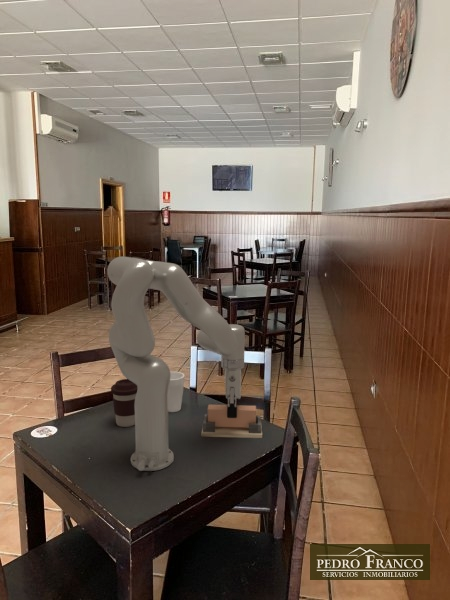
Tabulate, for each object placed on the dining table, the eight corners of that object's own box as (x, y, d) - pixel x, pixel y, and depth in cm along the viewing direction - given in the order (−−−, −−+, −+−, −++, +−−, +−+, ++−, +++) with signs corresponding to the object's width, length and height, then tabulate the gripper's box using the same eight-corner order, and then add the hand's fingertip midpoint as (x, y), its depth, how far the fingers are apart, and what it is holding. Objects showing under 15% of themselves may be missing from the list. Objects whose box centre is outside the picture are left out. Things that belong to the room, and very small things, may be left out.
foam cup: (189, 407, 169) (189, 374, 167) (174, 415, 161) (174, 381, 159) (170, 401, 174) (169, 370, 172) (154, 410, 166) (154, 376, 164)
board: (262, 438, 145) (262, 426, 144) (201, 436, 146) (201, 424, 145) (261, 425, 154) (261, 414, 153) (203, 424, 155) (203, 412, 154)
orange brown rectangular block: (255, 427, 147) (256, 410, 146) (207, 426, 148) (207, 409, 147) (255, 422, 151) (255, 405, 150) (208, 421, 152) (208, 404, 151)
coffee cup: (125, 432, 148) (123, 389, 146) (106, 423, 154) (104, 382, 152) (147, 421, 156) (146, 381, 154) (128, 414, 162) (127, 375, 159)
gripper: (244, 370, 137) (243, 426, 140) (244, 355, 154) (243, 405, 157) (220, 370, 138) (219, 425, 141) (222, 354, 154) (222, 404, 157)
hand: (232, 414), depth 149 cm, fingers closed on orange brown rectangular block, 3 cm apart
